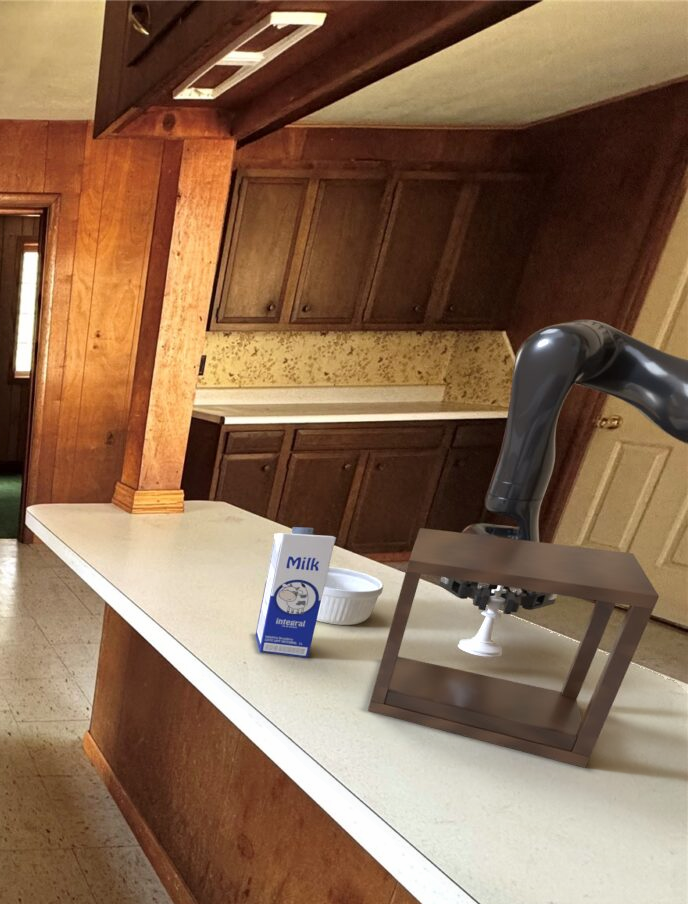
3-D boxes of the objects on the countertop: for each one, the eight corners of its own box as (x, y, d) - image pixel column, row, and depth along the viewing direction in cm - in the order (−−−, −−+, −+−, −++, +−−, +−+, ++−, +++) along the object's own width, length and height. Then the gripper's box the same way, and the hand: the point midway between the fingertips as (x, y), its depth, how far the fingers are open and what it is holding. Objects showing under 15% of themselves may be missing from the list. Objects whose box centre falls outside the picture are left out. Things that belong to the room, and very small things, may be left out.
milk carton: (258, 652, 106) (282, 532, 99) (254, 635, 112) (276, 521, 105) (309, 658, 104) (337, 536, 97) (301, 640, 110) (328, 524, 102)
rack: (571, 704, 89) (633, 553, 81) (585, 768, 77) (659, 596, 69) (382, 662, 102) (420, 527, 94) (367, 710, 89) (409, 560, 81)
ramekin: (393, 622, 116) (403, 585, 113) (334, 633, 112) (343, 595, 110) (326, 596, 127) (334, 562, 125) (271, 605, 124) (278, 571, 121)
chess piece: (511, 657, 94) (534, 591, 90) (475, 657, 94) (497, 592, 90) (482, 642, 98) (503, 579, 94) (449, 642, 98) (468, 580, 95)
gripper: (447, 541, 106) (440, 570, 94) (566, 556, 97) (576, 590, 85) (434, 584, 109) (426, 618, 96) (549, 603, 100) (556, 643, 88)
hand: (496, 605), depth 91 cm, fingers closed on chess piece
